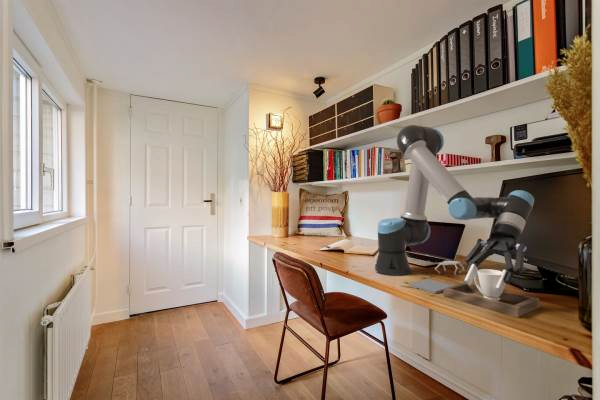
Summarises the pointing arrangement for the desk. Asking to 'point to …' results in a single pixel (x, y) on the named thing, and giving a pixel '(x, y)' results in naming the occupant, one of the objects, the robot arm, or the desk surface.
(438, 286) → the grey mat
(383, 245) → the robot arm
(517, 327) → the desk surface
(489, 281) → the cup
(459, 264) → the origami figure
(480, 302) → the tray
